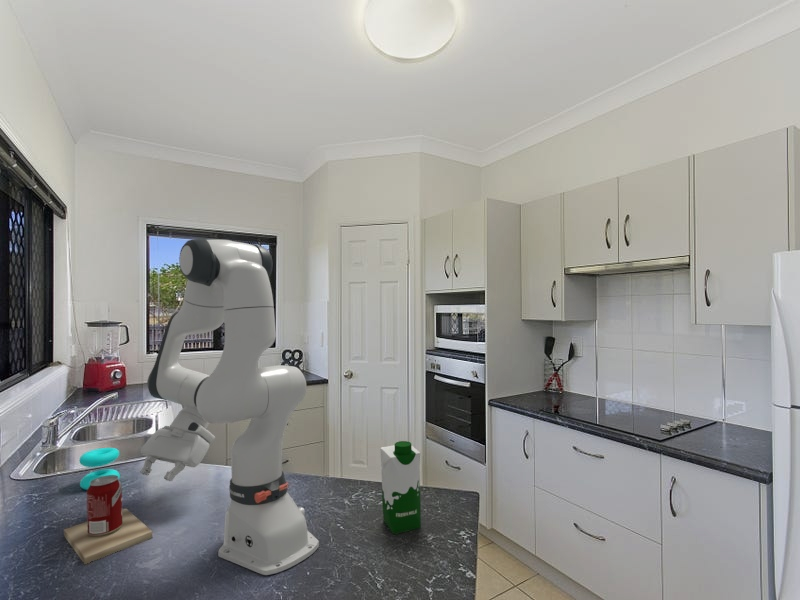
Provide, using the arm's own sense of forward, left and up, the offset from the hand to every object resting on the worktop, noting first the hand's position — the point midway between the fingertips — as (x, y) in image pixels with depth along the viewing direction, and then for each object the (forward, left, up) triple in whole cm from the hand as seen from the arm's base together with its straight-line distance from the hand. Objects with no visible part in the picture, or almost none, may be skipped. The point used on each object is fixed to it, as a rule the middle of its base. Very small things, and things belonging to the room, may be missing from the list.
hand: (155, 477), depth 112 cm
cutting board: (-3, +12, -9) cm, 15 cm away
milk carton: (-54, -35, -10) cm, 65 cm away
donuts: (+34, +4, -10) cm, 35 cm away
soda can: (-3, +12, -8) cm, 15 cm away
